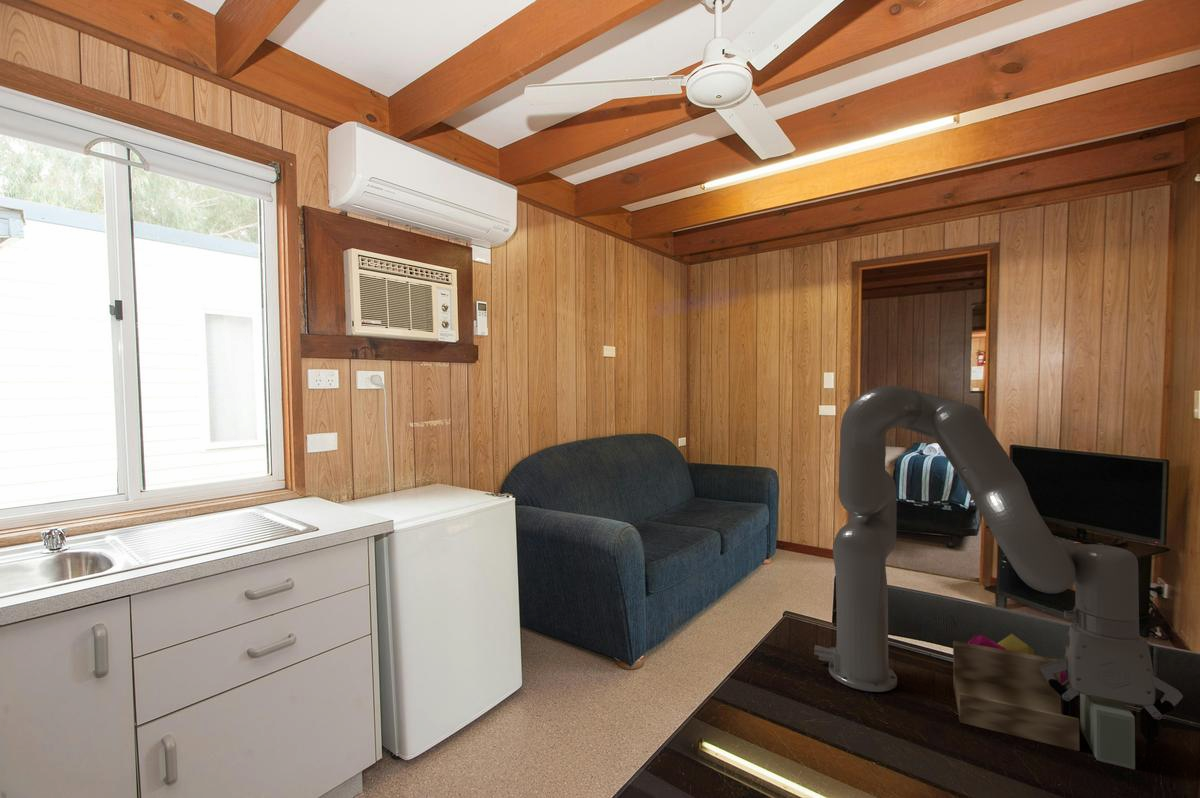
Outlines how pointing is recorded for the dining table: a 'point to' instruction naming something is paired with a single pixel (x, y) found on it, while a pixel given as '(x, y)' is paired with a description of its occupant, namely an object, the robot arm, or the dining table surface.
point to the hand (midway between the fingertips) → (1107, 730)
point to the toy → (1009, 647)
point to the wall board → (1010, 695)
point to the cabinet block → (1108, 730)
